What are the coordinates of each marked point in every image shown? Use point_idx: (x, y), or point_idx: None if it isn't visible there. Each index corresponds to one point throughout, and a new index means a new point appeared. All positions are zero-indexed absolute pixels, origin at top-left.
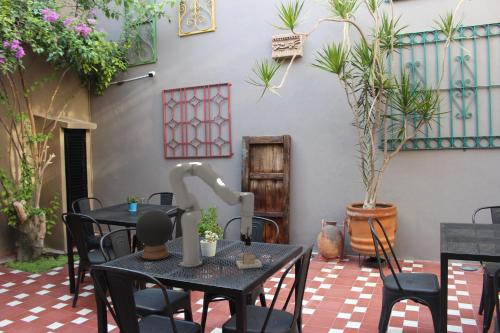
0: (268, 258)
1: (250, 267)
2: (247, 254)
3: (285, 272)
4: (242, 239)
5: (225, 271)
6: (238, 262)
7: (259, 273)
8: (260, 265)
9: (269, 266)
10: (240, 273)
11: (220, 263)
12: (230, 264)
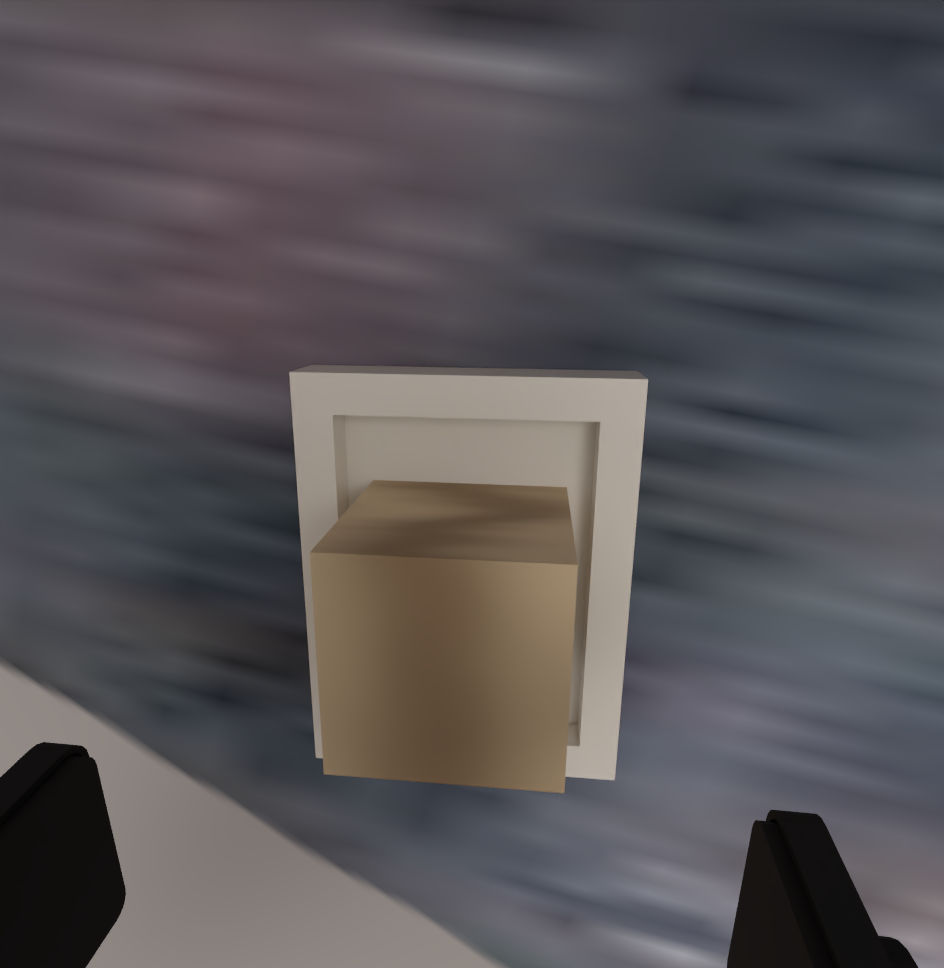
0: None
1: None
2: (403, 645)
3: None
4: (790, 910)
5: (198, 68)
6: (516, 402)
7: (7, 603)
8: None
9: (343, 819)
10: (35, 329)
11: (872, 34)
12: (689, 255)
